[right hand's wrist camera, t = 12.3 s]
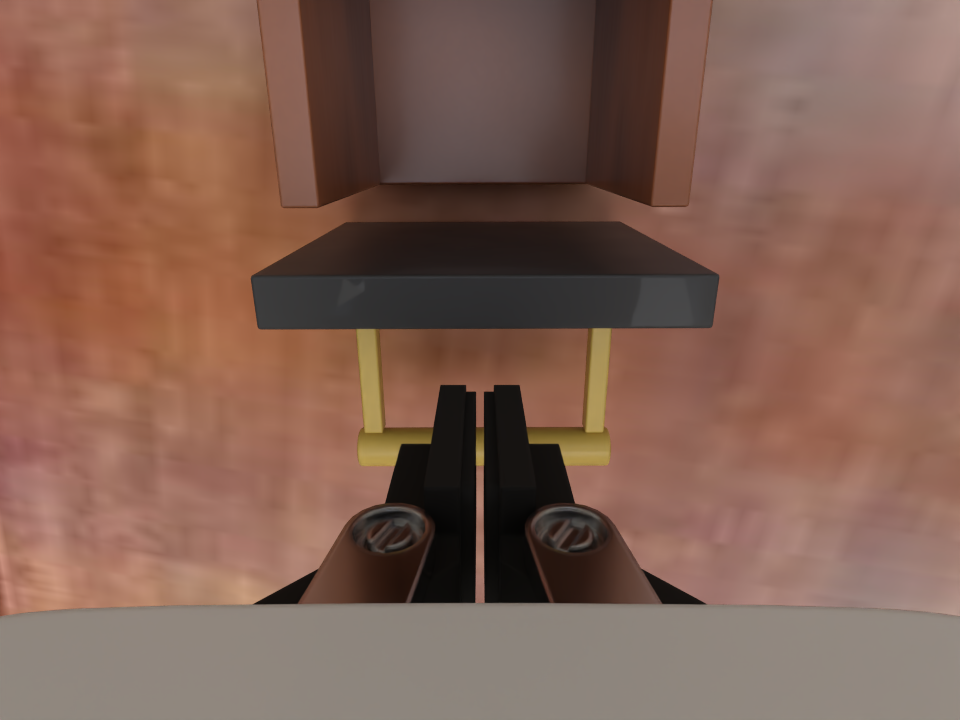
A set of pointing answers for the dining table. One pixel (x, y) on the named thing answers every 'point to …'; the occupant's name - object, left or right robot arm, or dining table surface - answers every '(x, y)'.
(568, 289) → the drawer
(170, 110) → the dining table surface
